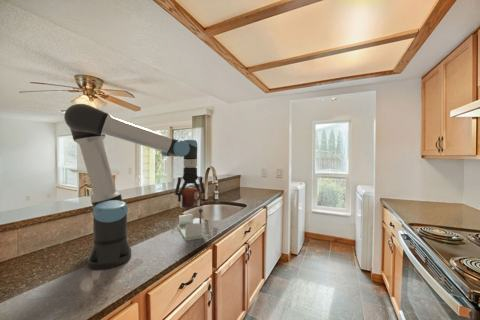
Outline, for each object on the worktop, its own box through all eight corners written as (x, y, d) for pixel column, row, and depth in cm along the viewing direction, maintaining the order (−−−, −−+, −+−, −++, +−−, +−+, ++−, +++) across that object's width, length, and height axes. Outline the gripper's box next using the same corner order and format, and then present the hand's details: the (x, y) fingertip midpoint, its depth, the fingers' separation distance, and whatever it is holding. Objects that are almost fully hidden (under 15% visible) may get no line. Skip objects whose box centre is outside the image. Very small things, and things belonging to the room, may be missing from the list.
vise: (185, 240, 103) (185, 211, 103) (177, 227, 123) (177, 202, 122) (203, 237, 107) (203, 209, 107) (192, 225, 127) (193, 201, 127)
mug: (177, 208, 111) (177, 189, 111) (184, 204, 120) (184, 187, 120) (198, 209, 110) (198, 190, 109) (203, 205, 118) (203, 188, 118)
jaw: (179, 225, 121) (179, 216, 121) (177, 221, 128) (177, 213, 128) (192, 223, 124) (192, 214, 124) (189, 220, 131) (189, 211, 131)
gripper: (171, 167, 106) (170, 210, 106) (210, 167, 116) (210, 206, 117) (169, 166, 113) (168, 206, 113) (206, 166, 123) (206, 203, 123)
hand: (189, 206), depth 115 cm, fingers closed on mug, 9 cm apart
